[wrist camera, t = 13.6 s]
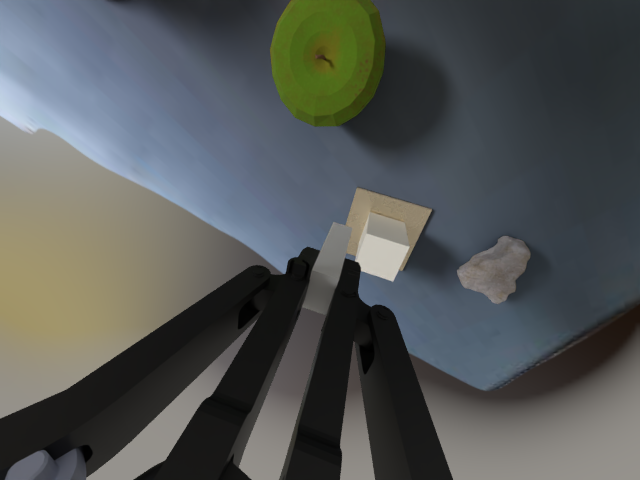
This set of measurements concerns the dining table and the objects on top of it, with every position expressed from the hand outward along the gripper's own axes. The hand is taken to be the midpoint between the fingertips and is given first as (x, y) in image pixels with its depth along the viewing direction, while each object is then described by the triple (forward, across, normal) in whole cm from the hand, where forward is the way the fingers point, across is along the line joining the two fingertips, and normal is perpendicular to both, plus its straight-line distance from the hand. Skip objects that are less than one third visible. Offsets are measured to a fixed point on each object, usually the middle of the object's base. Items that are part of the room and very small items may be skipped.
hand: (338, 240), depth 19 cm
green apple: (+23, -7, +12) cm, 27 cm away
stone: (+22, +24, -7) cm, 34 cm away
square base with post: (+22, +6, -8) cm, 24 cm away
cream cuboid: (+21, +6, -8) cm, 23 cm away
